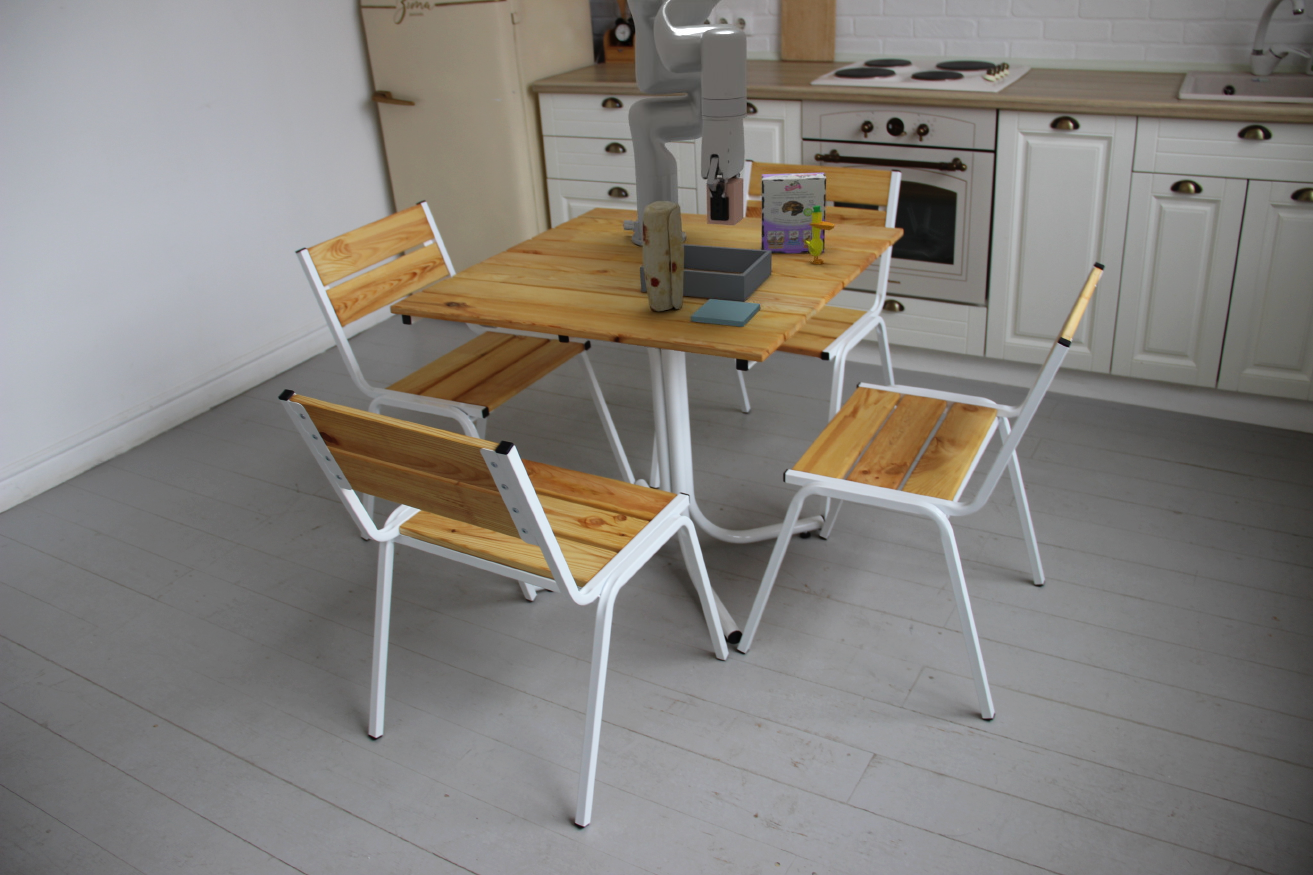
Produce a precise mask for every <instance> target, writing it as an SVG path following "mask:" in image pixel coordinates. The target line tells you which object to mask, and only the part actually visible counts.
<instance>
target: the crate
mask: <svg viewBox="0 0 1313 875" xmlns="http://www.w3.org/2000/svg"><path fill="white" fill-rule="evenodd" d="M683 244H684V273H683V297H685V296H686V297H693V298H694V297H696V298H706V299H707V298H708V299H717V300H727V301H737V302H746V301H747V299H748V298H749V297H751V295H752V294H754V292H756V290H757V289H759V287H760V286H761V285H763V284H764V282H766V281H767V280H768V278H769V277H770V276H771V275H772V266H773V265H772V260H773V259H772V251H770V250H761V249H756V248H755V249H753V248H741V247H728V246H727V247H726V246H713V245H701V244H688V243H687V244H686V243H683ZM639 277H640V292H645V293H647V288H646V282H645V275H644V268H643V264H642V265H641V266H639Z"/></svg>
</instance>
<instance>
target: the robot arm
mask: <svg viewBox="0 0 1313 875" xmlns="http://www.w3.org/2000/svg"><path fill="white" fill-rule="evenodd" d="M721 1H722V0H626V2H627V5H628V9H629V11H630V13H631V15H632V16H631V17H632V20H633V24H634V29H635V30H634V31H635V49H634V50H635V53H634V55H635V58H634V59H635V63H634V64H635V65H634V66H635V68H634V69H635V72H634V73H635V80H636V81H635V82H636V86H637V88H638V90H639V91H640V92H641V93H643V94H646V95H667V96H655V97H647V98H643V99H642V98H641V99H639V100H637V101H635V102H633V103H632V105H630V108H629V110H628V114H627V115H628V116H627V117H628V118H627V119H628V120H627V121H628V124H629V125H628V126H629V130H630V131H629V132H630V137H631V142H632V147H633V155H634V170H635V171H634V172H635V173H634V174H635V189H636V190H635V191H636V192H635V193H636V212H637V215H636V216H637V219H636V220H632V219H631V220H630V219H624V220H623V223H622V226H623V230H624V231H632V232H634V233H633V234H632V236H631V242H632V243H634V244H635V245H638V246H642V247H643V213H644V210H645V208H646V206H648V205H649V204H651V203H653V202H657V201H669V202H671V203H674V204H675V203H676V204H679V184H678V182H679V181H678V178H679V177H678V163H677V159H676V158H675V155H674V154H673V153H672V152H671V151H670V150H669V149H668V148H667V147H666V144H667V143H671V142H682V141H692V140H693V141H694V140H698V139H701V148H700V149H701V150H700V153H701V154H700V156H701V157H700V161H701V162H700V177H701V179H702V180H706V183H707V185H708V187H709V190H710V194H709V195H710V217H711V220H717V221H727V220H728V219H729V197H726V196H727V184H728V179H730V178H740V177H741V176H740V175H741V171H743V169H744V168H745V156H746V153H745V133H744V132H745V130H744V128H745V126H744V118H746V117H747V116H748V115H747V113H748V112H747V107H748V106H747V100H748V99H747V97H748V96H747V94H748V93H747V89H748V87H747V79H748V77H747V75H748V74H747V73H748V72H747V69H748V68H747V65H748V64H747V60H748V58H747V50H748V49H747V45H748V44H747V35H746V32H745V30H743V29H741V28H738V27H737V26H736V25H734V24H731V23H716V24H715V23H714V24H712V23H711V24H708V23H707V24H706V23H705V22H706V21H707V20H708V18H710V15H711V14H712V11H713V10H714V8H715V7H716V6H717V5H718V4H719V3H720V2H721ZM704 23H705V24H704ZM668 94H669V95H670V94H684V95H671V96H668ZM718 176H721V177H722V178H723V179H718V178H717V177H718ZM718 183H723V184H722V187H721V185H720V184H718ZM682 235H683V242H685V241H686V239H687V235H686V232H684V231H683V230H682Z"/></svg>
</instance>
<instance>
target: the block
mask: <svg viewBox="0 0 1313 875" xmlns="http://www.w3.org/2000/svg"><path fill="white" fill-rule="evenodd" d="M717 178H718V179H723V178H722V176H719V177H718V176H717ZM718 184H720V185H721V187H722V184H723V183H718ZM705 186H706V224H707V225H708V224H709V225H720V226H721V225H722V226H736V225H737V224H738V223H740V222H741V221H742V220H743V219H744V178H743V177H742V178H740V177H739V178H730V179H728V184H727V196H726V197H729V219H728V220H727V221H717V220H711V217H710V195H709V194H710V190H709V187H708V185H707V182H706V184H705Z"/></svg>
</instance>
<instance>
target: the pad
mask: <svg viewBox="0 0 1313 875" xmlns="http://www.w3.org/2000/svg"><path fill="white" fill-rule="evenodd" d="M760 309H761V303H756V302H746V301H735V300H725V299H714V298H708V300H707V301H706V302H705V303H703V305H701V306H700V307H699V308H698V309H697V310H696V311H695V312H693V314H691V315H690V321H691V322H692V323H693V322H694V323H695V322H696V323H704V324H705V323H706V324H713V325H714V324H716V325H724V326H730V327H731V326H732V327H741V328H742V327H744V326H746V325H747V324H748V322H749V321H750V320H752V318H753V317H754V316H755V315H756V314H757V313H758V312H759V311H760Z"/></svg>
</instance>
